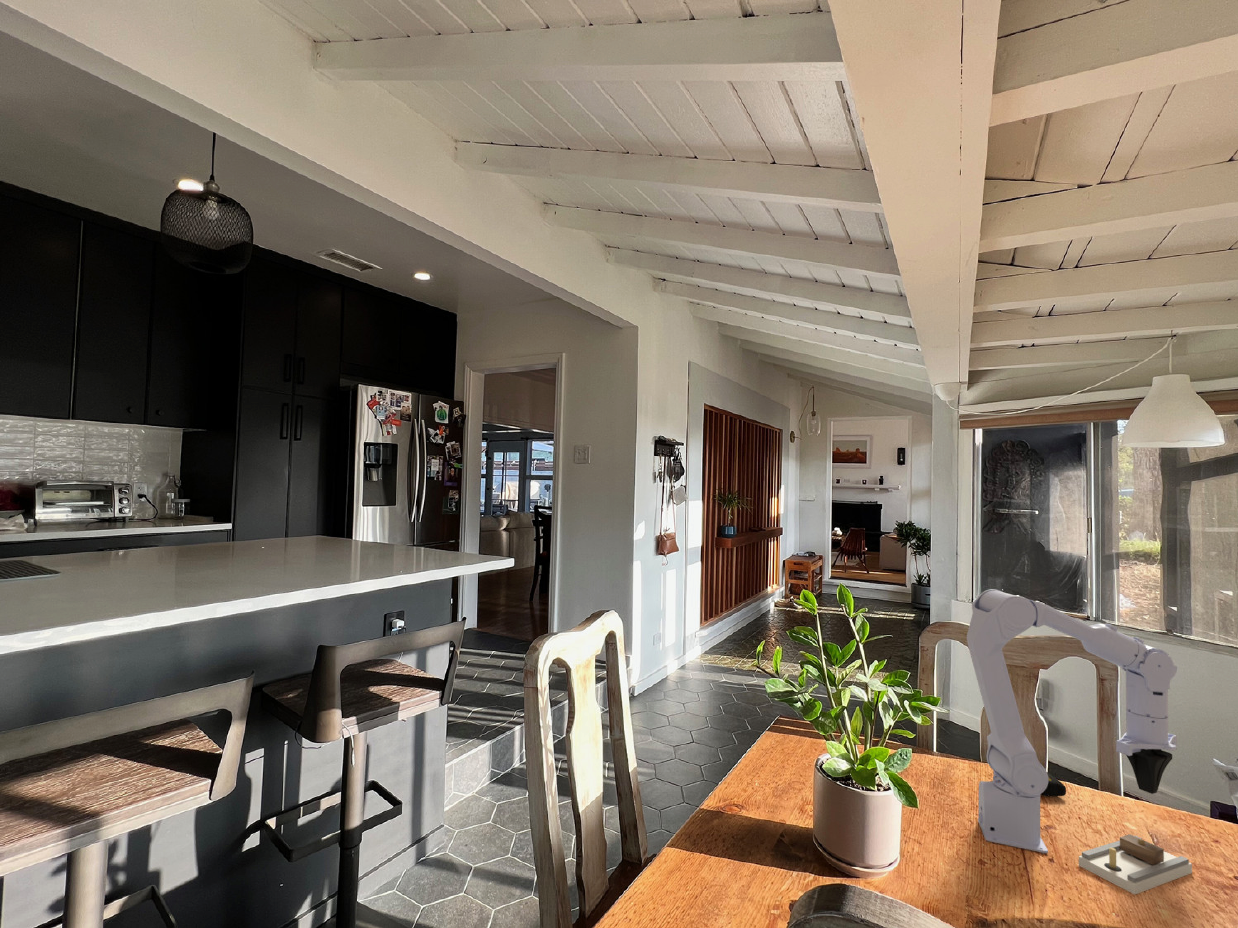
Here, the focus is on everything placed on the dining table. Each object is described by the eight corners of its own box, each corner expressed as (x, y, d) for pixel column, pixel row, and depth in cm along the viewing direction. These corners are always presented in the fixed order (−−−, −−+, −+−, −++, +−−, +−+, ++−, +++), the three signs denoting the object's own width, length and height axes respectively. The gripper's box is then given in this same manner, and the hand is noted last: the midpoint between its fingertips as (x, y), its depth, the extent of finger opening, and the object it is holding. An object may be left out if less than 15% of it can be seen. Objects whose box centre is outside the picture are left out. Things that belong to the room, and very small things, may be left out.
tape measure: (1068, 802, 125) (1068, 783, 125) (1032, 798, 126) (1032, 780, 126) (1049, 786, 132) (1049, 769, 132) (1015, 783, 133) (1015, 766, 133)
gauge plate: (1134, 894, 95) (1134, 865, 95) (1078, 865, 102) (1078, 838, 102) (1192, 872, 101) (1191, 845, 101) (1135, 846, 108) (1135, 821, 109)
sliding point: (1153, 864, 100) (1153, 849, 100) (1119, 849, 104) (1119, 834, 104) (1163, 861, 101) (1163, 845, 101) (1130, 845, 105) (1129, 830, 105)
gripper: (1149, 724, 102) (1150, 807, 102) (1197, 716, 108) (1198, 795, 107) (1102, 710, 109) (1103, 788, 108) (1150, 703, 114) (1151, 777, 114)
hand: (1147, 790), depth 108 cm, fingers closed
